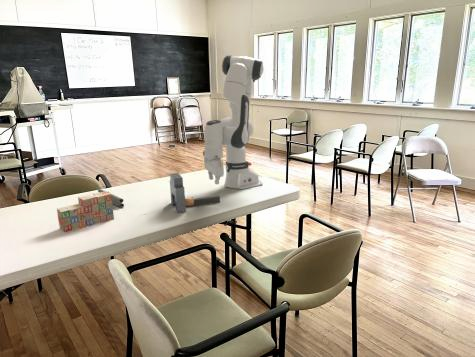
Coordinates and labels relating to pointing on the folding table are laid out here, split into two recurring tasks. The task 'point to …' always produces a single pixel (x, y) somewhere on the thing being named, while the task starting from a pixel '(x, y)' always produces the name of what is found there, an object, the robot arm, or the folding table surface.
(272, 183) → the folding table surface
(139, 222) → the folding table surface
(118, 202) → the metal rod assembly
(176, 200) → the grey notched block
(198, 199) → the plug
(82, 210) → the stack of blocks
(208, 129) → the robot arm
